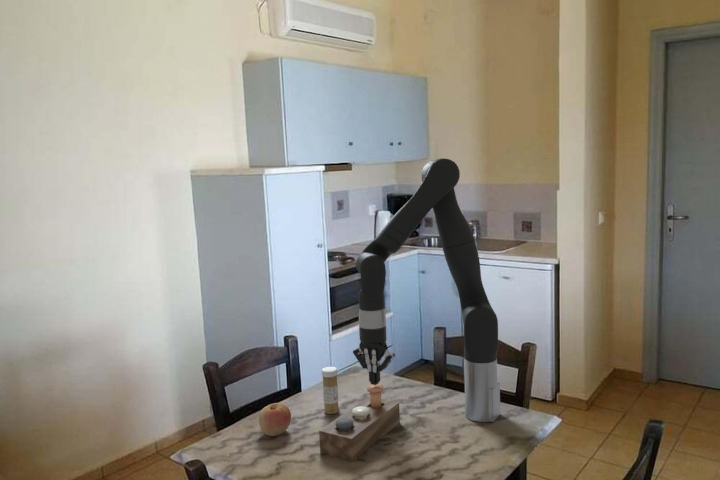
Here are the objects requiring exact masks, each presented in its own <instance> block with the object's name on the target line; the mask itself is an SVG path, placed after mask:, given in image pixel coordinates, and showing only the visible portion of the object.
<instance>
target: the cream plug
mask: <svg viewBox="0 0 720 480" xmlns="http://www.w3.org/2000/svg"><path fill="white" fill-rule="evenodd" d="M352 408H353V407H352ZM352 414H353V416H355V418H356V419H360V420H364V419H366V418H367V415H369V408H367V407H363V406H361V407H355V408H353V410H352Z"/></svg>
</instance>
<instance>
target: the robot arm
mask: <svg viewBox="0 0 720 480" xmlns="http://www.w3.org/2000/svg"><path fill="white" fill-rule="evenodd" d="M460 173H461V172H460V169H459V166H458V165H457V163H456V162H455V161H453V160H451V159H448V158H436V159H433V160H430V161H429V162H427V163H426V164H425V165H424V166H423V168H422V171H421V181H422V182H421V184H420V186H419V187H418V188H417V190H416V191H415V192H414V194H413V195H412V196H411V198H410V199H408V201H407V202H406V203H405V204H404V205H403V206H402V207H400V209H399V210H398V211H397V212H396V213H394V215H393V216H391V218H390V219H389V220H388V222H387V223H386V225H385V226H384V227H383V228H382V230H380V232H379V233H378V235H377V237H375V238H374V239H373V240H372V241H371V242H370V243H369V244H368V245H367V246H366V247H365V248H364V249H363V250H362V251H361V253H359V255H358V256H357V259H356V261H355V268H356V270H357V272H358V273H359V275H360V290H359V292H358V304H359V307H358V308H359V309H358V329H359V330H358V332H359V333H358V335H359V341H360V343H359V345H358V346H359V347H358V348H355V349H354V350H352V353H353V355H354V356H355V359H357V361H358V362H359V364H360V366H361V368H362V369H363V370H364V369H365V370H367V371H368V381H369V383H370V384H373V385H377V384H380V382H381V372H383V371H384V370H386V369H387V368H388V366H389V365H390V363H391V362H392V361H393V360H394V359H395V357H396V354H395V353H394V352H392V353H391V352H390V351H389V350H388V349H389V347H388V344H387V317H386V316H387V315H386V310H385V309H386V308H385V294H384V293H385V285H386V276H387V275H386V274H387V273H386V272H387V271H386V264H385V262H386V261H387V259H389V257H390V256H391V255H393V254H396V253H398V251H400V249H401V247H402V246H403V245H404V244H405V243H406V241H407V240H408V239H409V237H411V235H412V234H413V233H414V231H415V230H416V228H417V227H418V226H419V224H420V223H421V222H422V220H423V219H424V218H425V217H426V216H427V214H428V213H430V211H431V210H433V213H434V218H435V223H436V227H437V232H438V235H439V239H440V243H441V247H442V251H443V255H444V259H445V262H446V264H447V267H448V270H449V273H450V274H451V276H452V279H453V281H454V283H455V285H456V286H455V287H456V289H457V292H458V298H459V303H460V307H461V308H460V310H461V318H462V323H463V325H464V327H463V328H464V329H463V330H464V348H463V364H464V366H463V367H464V369H463V372H464V411H465V413H464V414H465V417H466V418H467V419H468V420H470V421H473V422H480V423H487V422H488V423H489V422H490V423H494V422H495V421H496V420H497V419H498V418H499V417H500V415H501V387H500V386H501V385H500V382H498V350H499V323H498V322H499V320H498V316H497V314H496V312H495V311H494V309H493V307H492V305H491V303H490V300H489V299H488V296H487V293H486V290H485V288H484V285H483V280H482V272H481V271H482V270H481V262H480V257H479V252H478V248H477V243H476V240H475V237H474V234H473V231H472V229H471V227H470V224H469V223H468V221H467V219H466V217H465V216H464V213H463V212H462V210H461V209H460V206H459V203H458V199H457V195H456V191H455V188H456V186H457V184H458V182H459V180H460ZM383 359H384V360H383Z"/></svg>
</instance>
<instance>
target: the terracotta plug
mask: <svg viewBox="0 0 720 480" xmlns="http://www.w3.org/2000/svg"><path fill="white" fill-rule="evenodd" d="M366 391H367V392H368V393H369V396H370V407H371V408H376V409H379V408H381V407H382V402H381V399H382V392H383V391H384V385H383V384H381V383H378V384H377V385H373V384H371V383H370V384H367V386H366Z"/></svg>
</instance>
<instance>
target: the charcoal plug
mask: <svg viewBox="0 0 720 480" xmlns="http://www.w3.org/2000/svg"><path fill="white" fill-rule="evenodd" d="M336 427H337V428H339V431H343V432H348V431H349V430H351V427H353V420H352V419H351V418H340V419H338V420H336Z"/></svg>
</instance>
